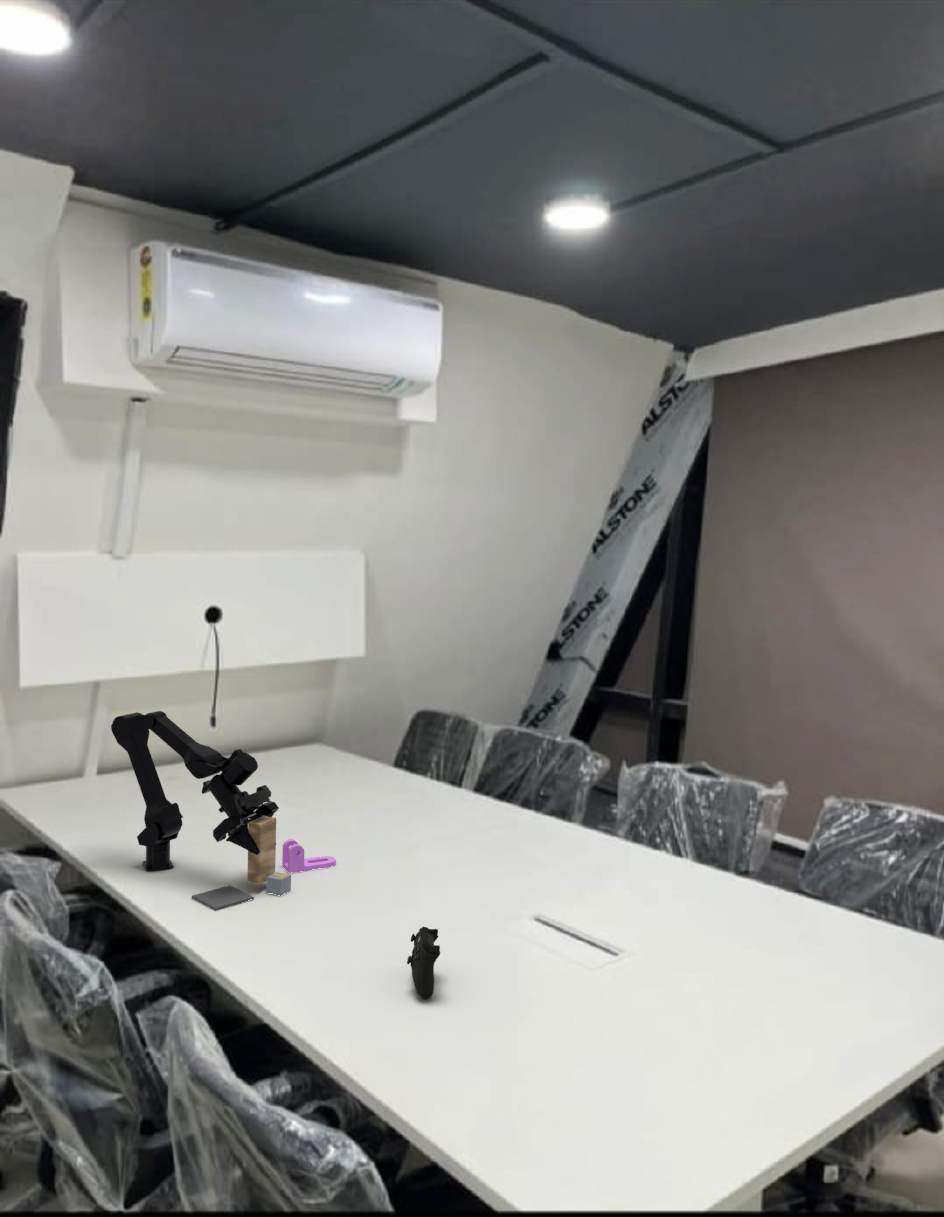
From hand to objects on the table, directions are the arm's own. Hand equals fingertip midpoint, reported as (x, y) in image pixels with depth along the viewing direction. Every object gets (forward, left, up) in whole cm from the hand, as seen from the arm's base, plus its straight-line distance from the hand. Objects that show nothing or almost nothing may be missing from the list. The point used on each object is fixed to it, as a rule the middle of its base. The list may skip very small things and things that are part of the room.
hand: (266, 849), depth 233 cm
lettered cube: (+3, +2, -10) cm, 10 cm away
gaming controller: (+59, +14, -10) cm, 61 cm away
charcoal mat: (+2, -11, -9) cm, 14 cm away
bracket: (-11, +14, -10) cm, 21 cm away
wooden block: (-1, -1, -7) cm, 7 cm away
